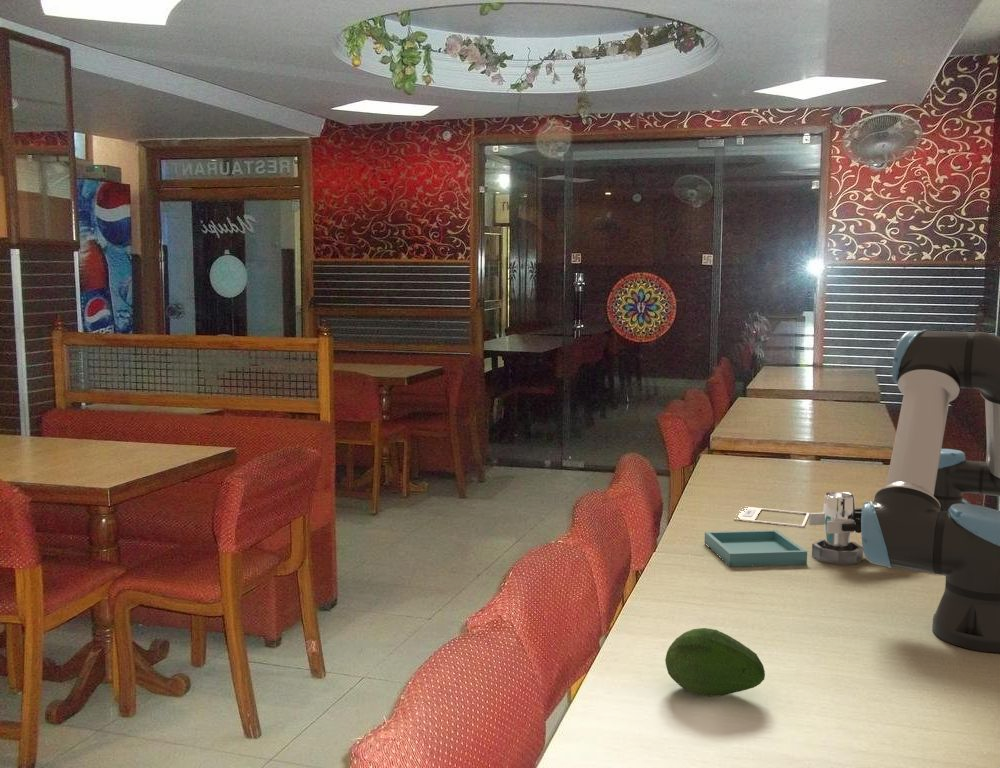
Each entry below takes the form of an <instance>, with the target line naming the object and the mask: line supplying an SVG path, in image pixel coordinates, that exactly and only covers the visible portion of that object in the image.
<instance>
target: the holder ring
mask: <svg viewBox="0 0 1000 768" xmlns="http://www.w3.org/2000/svg"><path fill="white" fill-rule="evenodd" d="M811 544H812V546H811V557H813V558H814V559H816V560H817V561H818V562H822V563H825V564H831V565H836V566H849V565H851V566H853V565H854V566H856V565H857V564H859V563H860V562H862V561H864V560H863V559H864V552H863V546H861V545H860V544H858V543H857V542H854V541H850V551H835V550H830V549H825V544H826V538H825V539H821V538H820V539H817V540H815V541H814V542H812V543H811Z"/></svg>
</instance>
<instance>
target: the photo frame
mask: <svg viewBox="0 0 1000 768" xmlns="http://www.w3.org/2000/svg"><path fill="white" fill-rule="evenodd" d="M747 507H748V508H744V509H745V510H744V511H745V512H744V511H740V510H739V511H740V512H741V513H739V515H738V517H739V518H740V520H748V521H755V522H764V523H771V524H770V525H773V524H778V525H777V526H783V525H786V526H785V527H792V526H796V527H795V528H802V527H803V529H804V528H805V526H806V524H807V522H808V521H809V514H810V513H811V512H804V511H797V510H796V511H794V510H783V509H775V508H774V509H773V508H765V507H764V508H763V507H753V506H747ZM746 509H747V510H746ZM762 509H765V510H772V511H779V512H778V513H782V512H789V513H788V514H792V513H797V514H796V515H805V517H804V518H803V522H802V523H801V524H796V523H785V522H778V521H777V522H776V521H765V520H758V519H756V518H758V517H759V516H758V514H759V513H760V514H761V512H762V511H761V510H762ZM742 510H743V509H742ZM760 511H761V512H760ZM772 511H771V512H772ZM760 514H759V515H760ZM757 516H758V517H757ZM735 519H736V518H735ZM737 519H738V518H737ZM755 519H756V520H755Z"/></svg>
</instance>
